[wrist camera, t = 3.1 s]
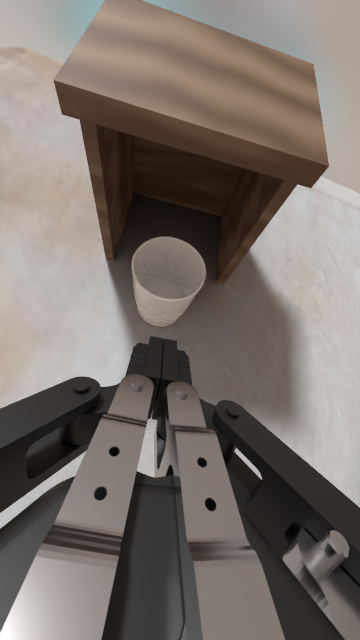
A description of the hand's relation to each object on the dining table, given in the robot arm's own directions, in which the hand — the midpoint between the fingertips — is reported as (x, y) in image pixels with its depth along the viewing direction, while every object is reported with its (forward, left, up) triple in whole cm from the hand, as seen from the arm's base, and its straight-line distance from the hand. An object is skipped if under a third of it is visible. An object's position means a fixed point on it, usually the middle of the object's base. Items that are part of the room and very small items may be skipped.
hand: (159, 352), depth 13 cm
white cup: (+8, -8, -18) cm, 21 cm away
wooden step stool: (+17, -17, -18) cm, 30 cm away
